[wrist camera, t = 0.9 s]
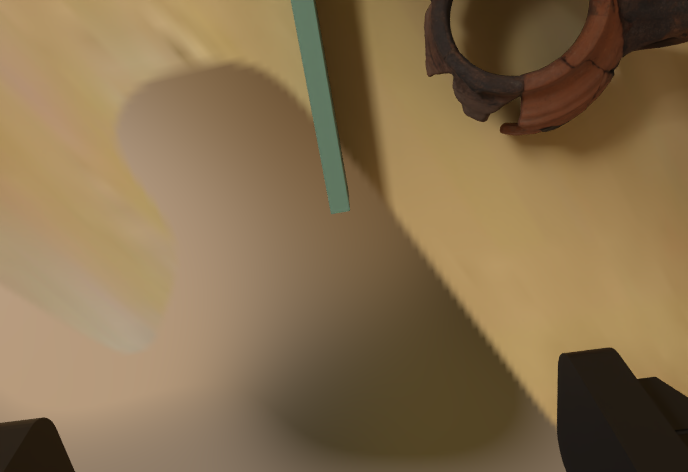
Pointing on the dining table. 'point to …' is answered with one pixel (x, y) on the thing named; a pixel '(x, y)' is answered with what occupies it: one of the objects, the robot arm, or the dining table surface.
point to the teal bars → (321, 103)
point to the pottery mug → (556, 62)
